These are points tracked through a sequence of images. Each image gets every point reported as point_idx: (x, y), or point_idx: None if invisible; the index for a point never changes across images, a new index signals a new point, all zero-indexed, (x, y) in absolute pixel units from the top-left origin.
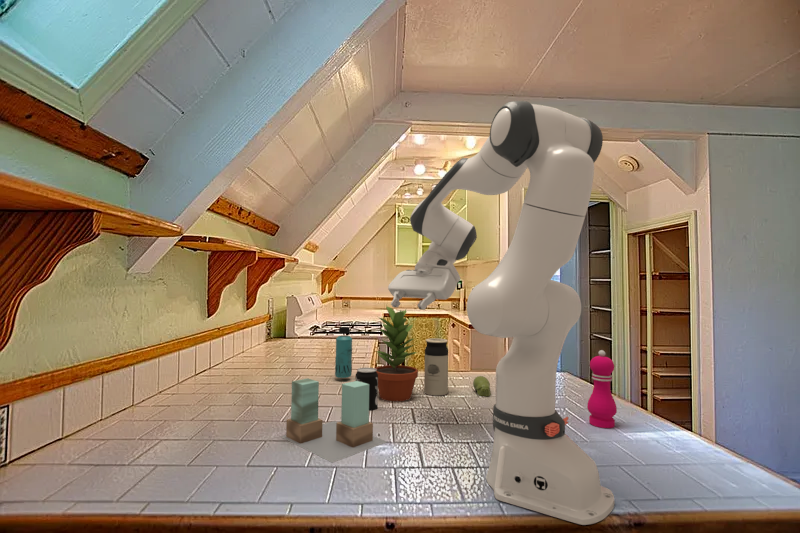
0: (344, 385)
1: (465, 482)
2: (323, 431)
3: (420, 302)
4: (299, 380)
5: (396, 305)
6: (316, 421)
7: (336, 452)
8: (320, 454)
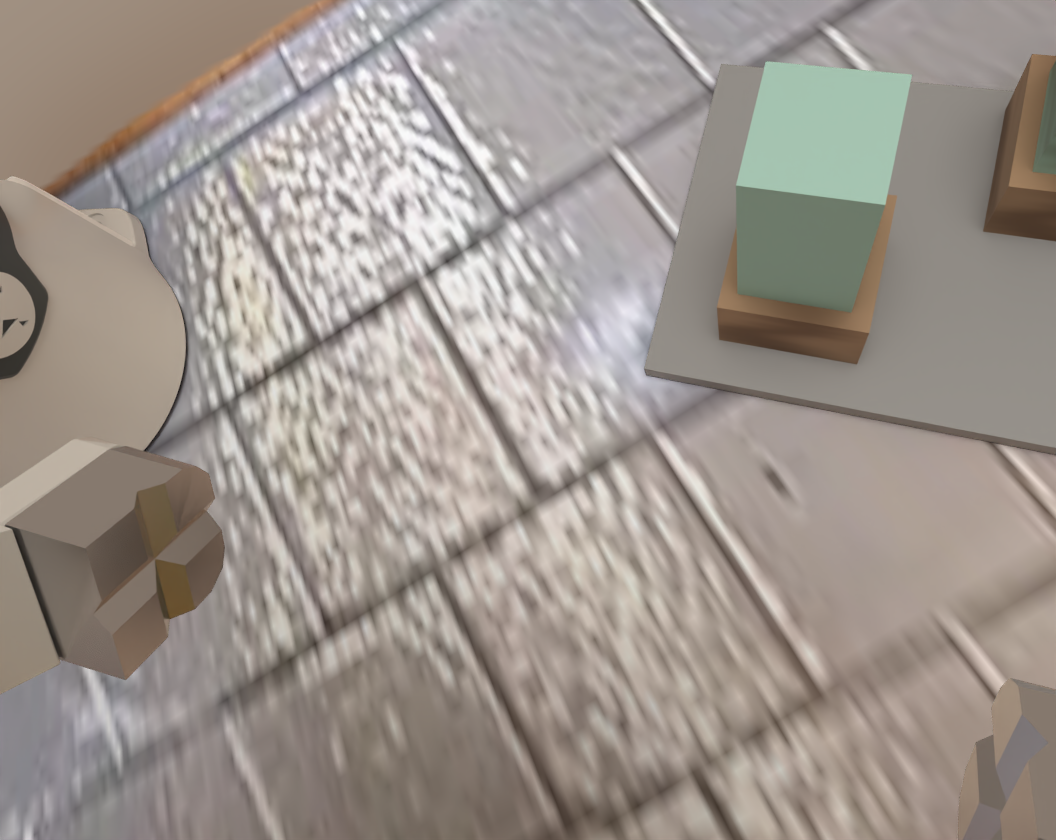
0: (879, 75)
1: (244, 264)
2: (1042, 291)
3: (91, 488)
4: None
5: (992, 768)
6: (1015, 147)
7: None
8: None
